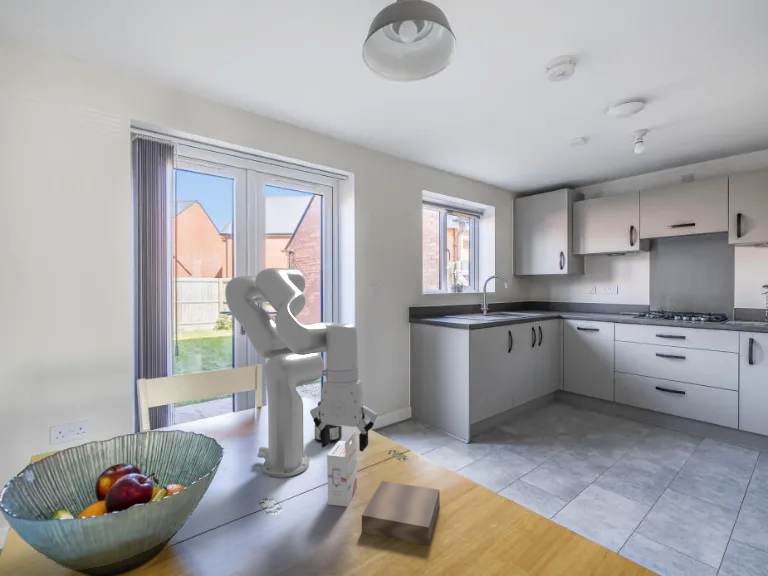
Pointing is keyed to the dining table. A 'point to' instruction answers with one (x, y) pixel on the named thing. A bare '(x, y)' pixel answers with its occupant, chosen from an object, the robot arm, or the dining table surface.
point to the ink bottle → (334, 431)
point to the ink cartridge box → (342, 472)
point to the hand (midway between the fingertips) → (344, 447)
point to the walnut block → (402, 512)
